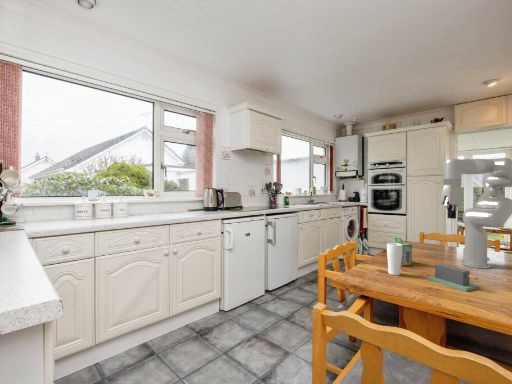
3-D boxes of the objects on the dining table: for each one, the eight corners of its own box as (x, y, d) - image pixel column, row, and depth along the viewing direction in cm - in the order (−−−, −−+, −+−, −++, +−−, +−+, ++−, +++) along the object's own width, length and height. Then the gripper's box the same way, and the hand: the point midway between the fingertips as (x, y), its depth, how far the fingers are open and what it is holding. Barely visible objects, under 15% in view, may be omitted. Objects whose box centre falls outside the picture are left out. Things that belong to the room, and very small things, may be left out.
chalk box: (412, 265, 144) (412, 238, 144) (398, 266, 142) (399, 239, 141) (399, 260, 153) (399, 235, 153) (386, 261, 151) (386, 236, 150)
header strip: (439, 276, 125) (439, 265, 125) (478, 288, 111) (478, 276, 111) (427, 279, 122) (427, 268, 122) (465, 291, 107) (466, 279, 107)
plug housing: (441, 276, 123) (441, 263, 122) (480, 287, 108) (480, 273, 108) (434, 277, 121) (435, 264, 121) (474, 289, 106) (474, 274, 106)
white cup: (400, 272, 131) (400, 243, 131) (403, 277, 124) (403, 245, 124) (385, 271, 133) (386, 242, 133) (387, 275, 127) (388, 244, 126)
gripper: (453, 183, 141) (452, 217, 141) (435, 182, 135) (435, 218, 136) (469, 183, 134) (468, 218, 135) (451, 182, 128) (450, 219, 129)
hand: (451, 218), depth 135 cm, fingers closed
